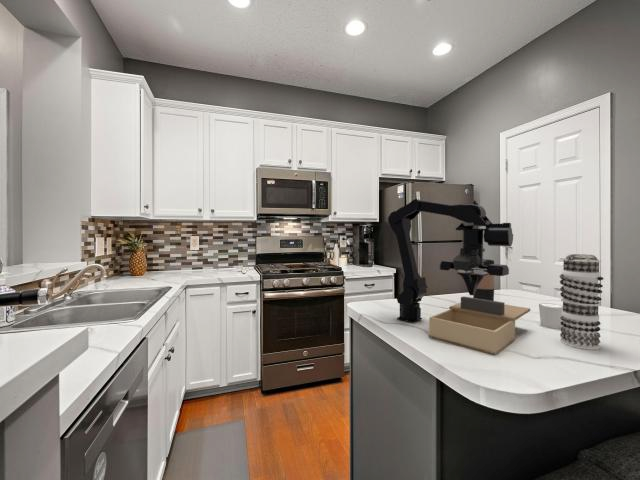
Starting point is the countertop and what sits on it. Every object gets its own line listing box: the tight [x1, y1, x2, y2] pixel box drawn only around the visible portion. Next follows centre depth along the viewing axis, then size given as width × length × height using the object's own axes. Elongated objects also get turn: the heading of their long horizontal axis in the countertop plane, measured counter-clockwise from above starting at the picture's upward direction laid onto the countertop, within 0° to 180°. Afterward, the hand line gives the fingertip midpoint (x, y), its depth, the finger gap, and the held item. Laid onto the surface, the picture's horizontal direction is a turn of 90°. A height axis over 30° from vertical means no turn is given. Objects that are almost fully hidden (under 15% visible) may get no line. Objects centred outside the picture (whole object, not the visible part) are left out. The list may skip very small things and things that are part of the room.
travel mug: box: [472, 258, 495, 301], centre depth 123 cm, size 8×8×20 cm
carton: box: [428, 309, 516, 356], centre depth 89 cm, size 18×16×6 cm
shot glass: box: [538, 302, 563, 330], centre depth 100 cm, size 7×7×7 cm
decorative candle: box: [559, 253, 604, 351], centre depth 84 cm, size 9×9×25 cm
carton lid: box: [448, 296, 531, 322], centre depth 98 cm, size 19×17×4 cm
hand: (471, 295), depth 94 cm, fingers closed
